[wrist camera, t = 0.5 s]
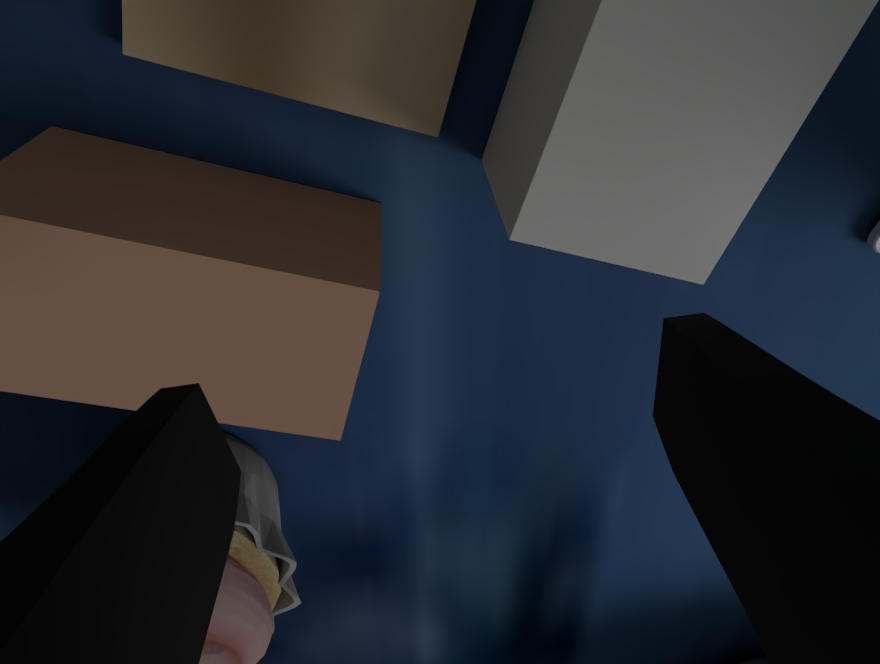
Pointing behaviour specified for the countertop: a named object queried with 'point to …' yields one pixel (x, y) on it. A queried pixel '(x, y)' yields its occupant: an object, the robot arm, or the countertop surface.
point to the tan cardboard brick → (182, 283)
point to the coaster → (314, 50)
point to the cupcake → (251, 569)
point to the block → (656, 121)
